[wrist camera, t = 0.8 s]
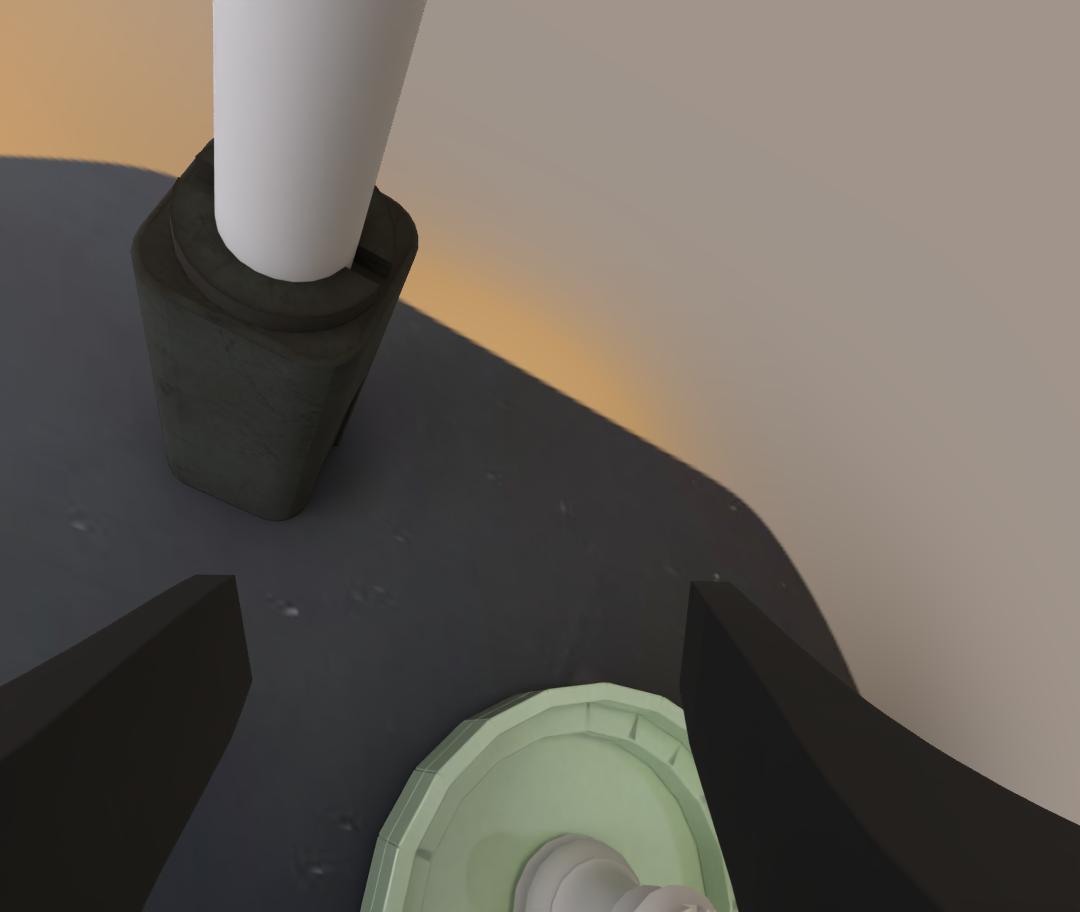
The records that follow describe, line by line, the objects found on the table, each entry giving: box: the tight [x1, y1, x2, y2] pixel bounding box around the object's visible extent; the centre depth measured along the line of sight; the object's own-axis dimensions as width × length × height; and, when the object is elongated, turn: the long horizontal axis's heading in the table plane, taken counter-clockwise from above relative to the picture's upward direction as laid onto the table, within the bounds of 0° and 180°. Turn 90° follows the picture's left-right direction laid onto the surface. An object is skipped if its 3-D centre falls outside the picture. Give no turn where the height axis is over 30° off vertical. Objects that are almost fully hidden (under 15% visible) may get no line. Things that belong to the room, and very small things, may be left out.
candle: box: [131, 0, 427, 521], centre depth 16 cm, size 5×5×25 cm
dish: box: [360, 682, 738, 912], centre depth 24 cm, size 14×14×4 cm
